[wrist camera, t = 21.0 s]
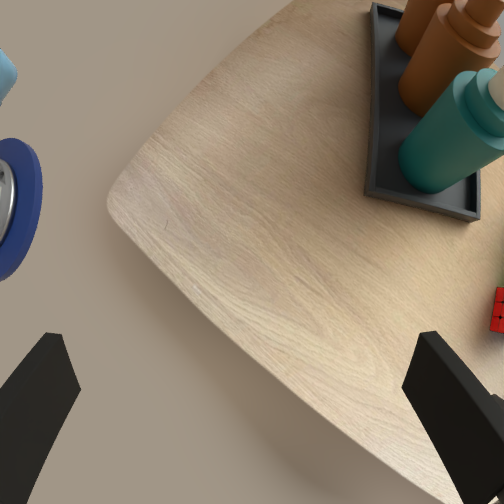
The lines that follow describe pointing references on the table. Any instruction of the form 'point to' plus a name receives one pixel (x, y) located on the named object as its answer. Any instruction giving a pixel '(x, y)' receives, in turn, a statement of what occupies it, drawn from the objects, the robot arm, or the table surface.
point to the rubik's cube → (498, 312)
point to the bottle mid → (451, 50)
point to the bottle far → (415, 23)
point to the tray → (402, 131)
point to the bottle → (456, 133)
